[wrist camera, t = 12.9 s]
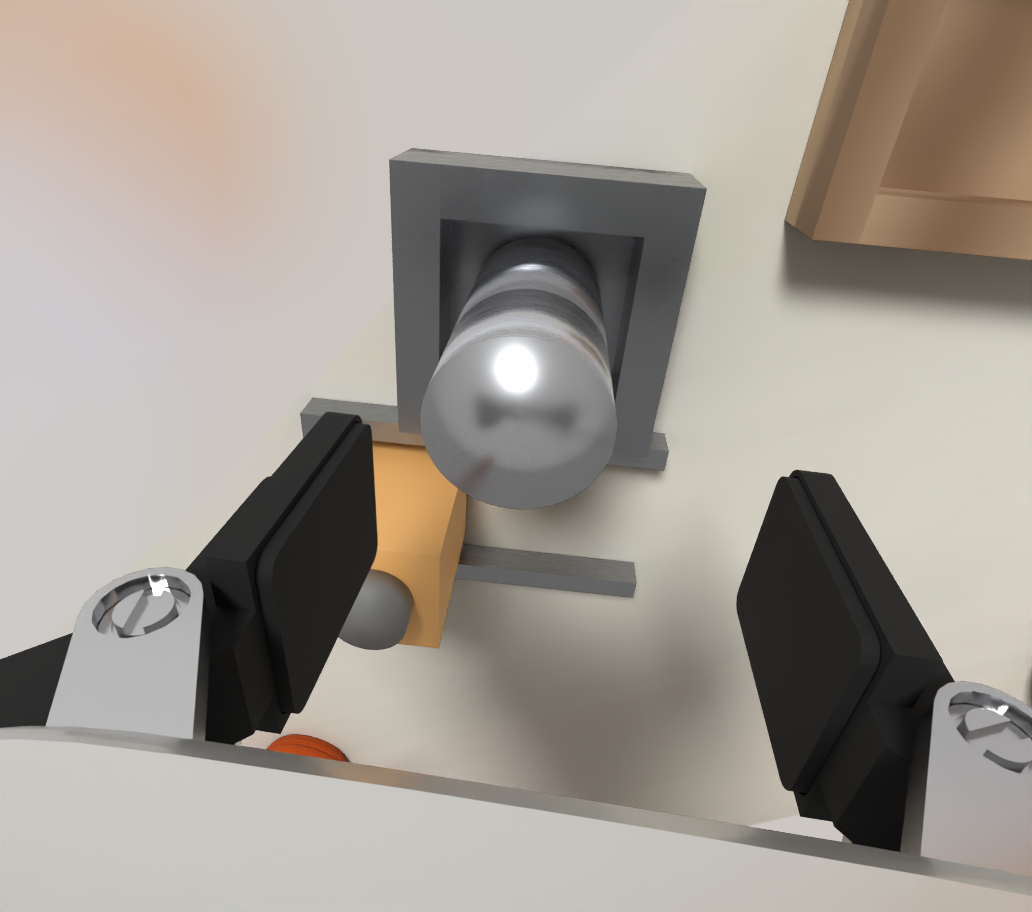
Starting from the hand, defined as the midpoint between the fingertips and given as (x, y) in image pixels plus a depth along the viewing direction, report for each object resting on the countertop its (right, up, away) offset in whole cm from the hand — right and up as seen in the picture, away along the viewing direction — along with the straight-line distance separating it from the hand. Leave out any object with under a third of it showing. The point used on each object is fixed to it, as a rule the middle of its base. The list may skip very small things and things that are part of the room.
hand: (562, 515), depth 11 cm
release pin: (-5, 0, +13) cm, 14 cm away
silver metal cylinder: (0, +6, +8) cm, 10 cm away
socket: (0, +6, +9) cm, 11 cm away
